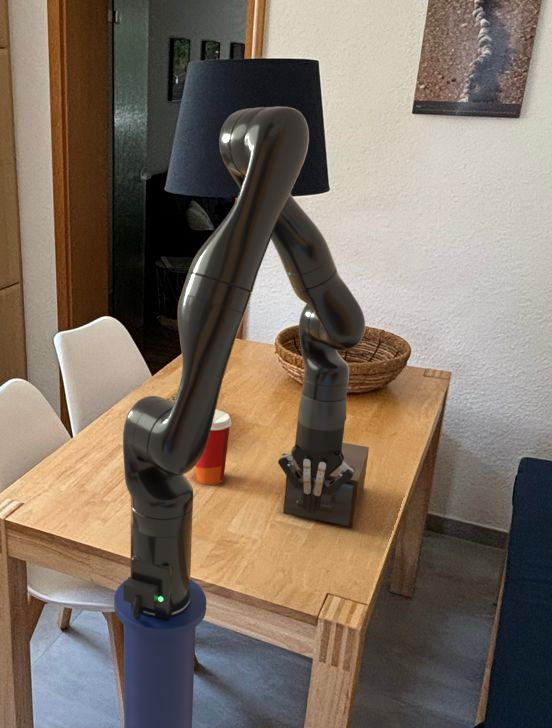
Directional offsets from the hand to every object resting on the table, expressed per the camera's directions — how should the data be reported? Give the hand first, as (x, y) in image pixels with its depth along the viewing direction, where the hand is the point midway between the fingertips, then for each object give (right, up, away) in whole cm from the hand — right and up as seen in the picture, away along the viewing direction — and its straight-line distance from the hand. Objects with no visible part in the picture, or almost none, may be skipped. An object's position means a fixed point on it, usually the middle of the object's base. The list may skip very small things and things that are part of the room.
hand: (311, 511), depth 133 cm
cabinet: (+7, -1, +15) cm, 17 cm away
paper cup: (-14, +2, +24) cm, 28 cm away
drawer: (+5, -1, +12) cm, 12 cm away
